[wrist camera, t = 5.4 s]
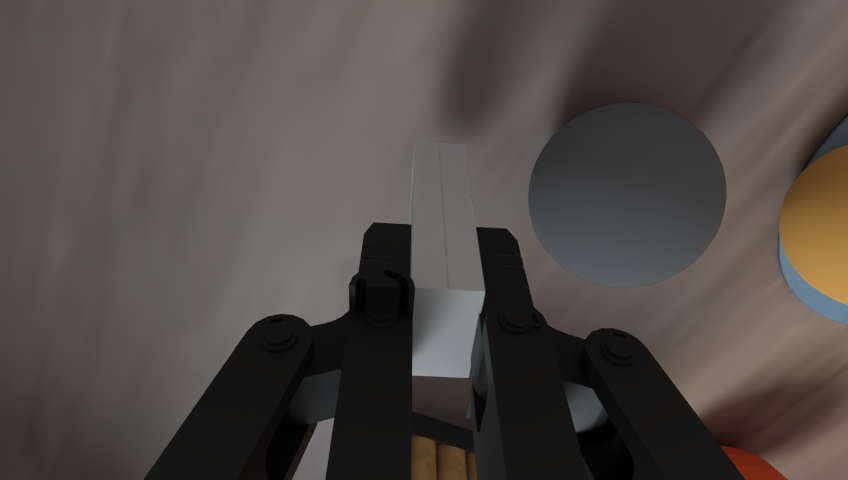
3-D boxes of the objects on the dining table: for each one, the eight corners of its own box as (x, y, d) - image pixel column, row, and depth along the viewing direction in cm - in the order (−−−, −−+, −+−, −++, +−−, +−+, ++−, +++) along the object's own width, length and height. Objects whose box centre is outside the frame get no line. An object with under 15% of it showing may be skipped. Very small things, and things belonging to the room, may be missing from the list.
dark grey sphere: (683, 352, 14) (699, 246, 18) (757, 174, 11) (757, 93, 15) (495, 291, 17) (546, 208, 20) (513, 126, 13) (569, 66, 17)
